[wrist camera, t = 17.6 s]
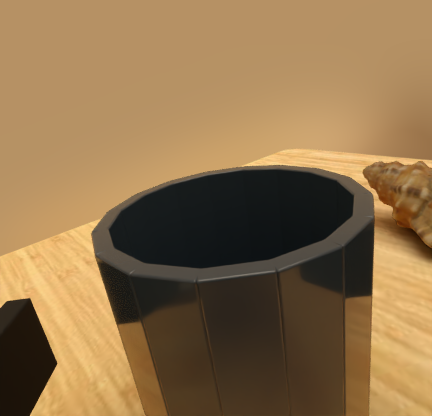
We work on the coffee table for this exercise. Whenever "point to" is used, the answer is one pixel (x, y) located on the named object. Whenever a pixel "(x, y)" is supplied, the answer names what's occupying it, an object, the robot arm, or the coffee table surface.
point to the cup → (244, 292)
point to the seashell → (405, 194)
